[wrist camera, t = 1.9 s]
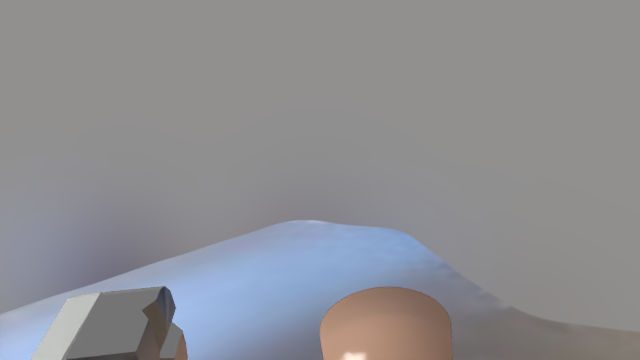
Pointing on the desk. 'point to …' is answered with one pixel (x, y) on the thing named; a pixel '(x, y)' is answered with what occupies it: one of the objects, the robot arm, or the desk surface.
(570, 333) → the desk surface
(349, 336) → the wooden peg
